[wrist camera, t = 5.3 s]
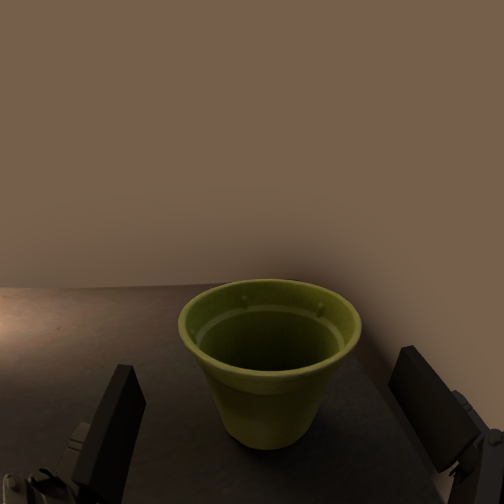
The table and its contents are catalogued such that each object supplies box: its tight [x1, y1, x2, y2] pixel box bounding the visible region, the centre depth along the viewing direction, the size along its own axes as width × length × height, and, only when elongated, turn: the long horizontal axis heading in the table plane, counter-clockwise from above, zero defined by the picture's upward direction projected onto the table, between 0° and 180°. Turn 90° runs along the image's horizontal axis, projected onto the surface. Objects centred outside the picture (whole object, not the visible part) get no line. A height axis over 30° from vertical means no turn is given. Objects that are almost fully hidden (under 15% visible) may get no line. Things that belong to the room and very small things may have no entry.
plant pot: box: [178, 279, 362, 450], centre depth 15 cm, size 9×9×9 cm
